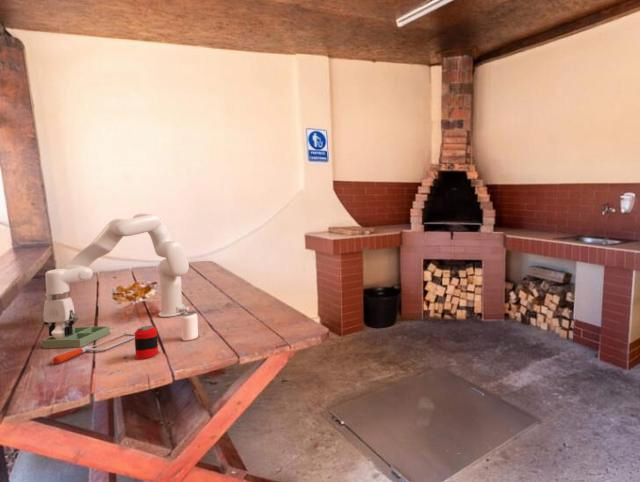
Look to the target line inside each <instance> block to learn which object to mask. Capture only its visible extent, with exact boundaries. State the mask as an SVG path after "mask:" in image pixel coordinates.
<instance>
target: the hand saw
mask: <svg viewBox="0 0 640 482" xmlns="http://www.w3.org/2000/svg"><path fill="white" fill-rule="evenodd" d="M124 335H126V336H130V337H127V338H125V339H122V340H120V341H118V342H114V343H113V344H110V345H108V346H105V347H101V348H93V347H96V346H98V345H101V344H104V343H107V342H110V341H111V340H114V339H117V338H119V337H122V336H124ZM133 339H135V332H134V333H133V332H124V333H123V334H121V335H118V336H115V337H113V338H111V339H108V340H105V341H102V342H100V343H97V344H95V345H89V346H88V345H84V346H82V347H79V348H77V349H74V350H70V351H67V352H64V353H61V354H59V355H56V356H55V357H53V359H52V363H53V364H55V365H60V364H61V363H64V362H66V361H68V360H71V359H73V358H76V357H77V356H79V355H82V354H83V353H84V354H85V353H88V352H89V351H90V352H101V351H105V350H108V349H111V348H114V347H116V346H118V345H120V344H123V343H126V342H128V341H130V340H133Z"/></svg>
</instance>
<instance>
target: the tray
mask: <svg viewBox="0 0 640 482" xmlns="http://www.w3.org/2000/svg"><path fill="white" fill-rule="evenodd" d="M72 329H73V333H72V334H70V335H68V336H67V337H66V338H64V339H61V340H56V339H55V338H54V337H53V336H49V337H47V338H45V339H42V340H41V345H42V349H62V348H63V349H65V348H67V349H68V348H83V347H85V346H87V345H89V344H90V343H92V342H94V341H97V340H99V339H101V338H103V337H106V336H107V335H109V334H110V333H111V331H110V329H111V328H110V325H105V326H103V325H102V326H101V325H100V326H74V327H72Z"/></svg>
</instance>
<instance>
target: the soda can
mask: <svg viewBox="0 0 640 482" xmlns="http://www.w3.org/2000/svg"><path fill="white" fill-rule="evenodd" d="M134 333H135V338H134V348H135V350H134V351H135V358H136V360H147V359H151V358H154V357H155V356H157V355H158V354H159V343H158V341H159V340H158V328H157V327H156V326H154V325H144V326H141V327H139V328H137V329H136V330H135V332H134Z"/></svg>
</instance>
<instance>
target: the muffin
mask: <svg viewBox="0 0 640 482" xmlns="http://www.w3.org/2000/svg"><path fill="white" fill-rule="evenodd" d="M56 325H57V326H56V327H55V329H54V330H53V331H52V332H51V334H52V335H53V337H54V338H55V339H56V340H61V339H64V338H66V337H67V336H65V329H64V328H65V327H66V326H65V324H64V323H58V324H56Z"/></svg>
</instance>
